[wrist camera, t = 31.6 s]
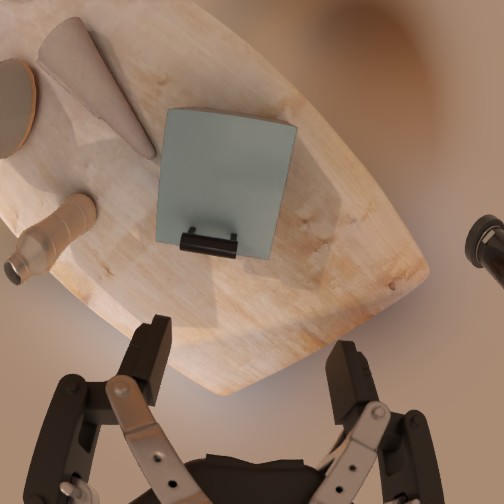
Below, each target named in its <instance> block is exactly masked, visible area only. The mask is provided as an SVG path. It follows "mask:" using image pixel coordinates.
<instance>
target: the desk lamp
mask: <svg viewBox="0 0 504 504" xmlns="http://www.w3.org/2000/svg"><path fill="white" fill-rule="evenodd" d="M36 93H37V92H36V87H35V81H34V75H33V73H32V71H31V70H30V68H29V67H28V65H27V64H26V63H25V62H23V61H20V60H17V59H8V60H5V61H2V62H0V159H4V158H7V157H8V156H11V155H12V154H13V153H14V152H16V151H17V150H19V149H20V148H21V146H22V144H23V143H24V141H25V139H26V138H27V136H28V134H29V132H30V129H31V125H32V122H33V118H34V115H35V105H36Z"/></svg>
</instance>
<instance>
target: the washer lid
mask: <svg viewBox="0 0 504 504" xmlns="http://www.w3.org/2000/svg"><path fill="white" fill-rule="evenodd" d="M296 132H297V127H295V126H290V125H285V124H280V123H275V122H270V121H265V120H259V119H254V118H248V117H241V116H235V115H228V114H220V113H212V112H203V111H193V110H182V109H168V113H167V120H166V127H165V134H164V142H163V150H162V159H161V169H160V180H159V192H158V206H157V223H156V242H161V243H167V244H173V245H179V246H180V250H182V251H188V252H194V253H200V254H206V255H212V256H218V257H224V258H230V259H236V255H240V256H246V257H252V258H258V259H264V260H269V256H270V252H271V247H272V243H273V238H274V234H275V230H276V225H277V221H278V216H279V212H280V207H281V203H282V198H283V193H284V189H285V184H286V180H287V175H288V170H289V166H290V161H291V156H292V151H293V147H294V142H295V137H296Z"/></svg>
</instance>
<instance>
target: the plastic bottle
mask: <svg viewBox="0 0 504 504" xmlns="http://www.w3.org/2000/svg"><path fill="white" fill-rule="evenodd" d="M95 220H96V208H95V205H94V203H93V201H92V200H91V199H90V198H89V197H88V196H86V195H84V194H81V193H78V194H74V195H71V196H69V197H68V198H67V199H66V200H65V201H64V202H63V203H62V204H61V206H60V207H59V208H58V209H57V210H56V211H54V212H53V213H52V214H51V215H50V216H48V217H47V218H45V219H44V220H42V221H41V222H39V223H37V224H35V225H33V226H31V227H29V228H27V229H26V230H24V231H23V232H22V233H21V235H20V237H19V238H18V241H17V245H16V250H15V252H13V253H12V254H11V255H10V256H9V257H8V258H7V259H6V260H5V262H4V263H3V268H4V271H5V274H6V276H7V277H8V279H9V280H10V281H11V282H12V283H13V284H14V285H16V286H20V285H22V284H23V283H24V282H25V281H26V280H28V279H29V277H30V275H42V274H45V273H47V272H48V271H50V269H51V268H52V267H53V265H54V264H55V262H56V260H57V259H58V257H59V256H60V254H61V253H62V252H63V251H64V250H65V248H66V247H67V246H68V245H69V244H70V243H71V242H72V241H73V240H75V239H76V238H77V237H79V236H81V235H83V234H84V233H86V232H87V231H89V230H90V229H91V227H92V226H93V224H94V222H95Z"/></svg>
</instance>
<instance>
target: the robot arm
mask: <svg viewBox="0 0 504 504" xmlns="http://www.w3.org/2000/svg"><path fill="white" fill-rule="evenodd" d="M475 258H476V260H477V261H478V262H479V263H480V264H481V265H482V266H483V267H484V268H485V269H486V270H487V271H488V272H489V273H490V274H491V275H492V276H493V278H494V279H495V280H496V281H497V282H498V283H499V284H500V285H501V286H502V288H503V289H504V229H502V228H501V227H499V226H498V225H491V226H489V227H488V228H487V229H486V230H485V231H484V232H483V233H482V234H481V236H480V237H479V239H478V242H477V244H476V248H475ZM171 343H172V323H171V317H167V316H162V315H157V314H156V315H155V316H154V318H153V321H152V323H151V324H146V323H143V324H141V325H140V326H139V327H138V328H137V329H136V330H135V332H134V335H133V337H132V340H131V342H130V344H129V347H128V349H127V351H126V354H125V356H124V358H123V361H122V363H121V366H120V368H119V371H118V373H117V374H116V375H115V376H114V377H112V378H111V379H109V380H108V381H105V382H86V381H85V379H84V378H83V377H81V376H80V375H77V374H68V375H66V376H64V377H63V378H61V380H60V381H59V383H58V386H57V388H56V390H55V393H54V395H53V398H52V401H51V403H50V406H49V408H48V411H47V414H46V416H45V419H44V422H43V425H42V428H41V431H40V434H39V437H38V440H37V443H36V447H35V450H34V453H33V456H32V460H31V464H30V468H29V471H28V476H27V479H26V484H25V488H24V493H23V501H24V504H100V503H99V502H100V500H99V495H98V493H97V491H96V490H95V489H94V488H93V487H92V486H90V485H89V484H88V480H89V475H90V470H91V465H92V461H93V456H94V452H95V448H96V444H97V439H98V435H99V432H100V428H101V425H120V427H121V430H122V432H123V435H124V437H125V439H126V441H127V444H128V446H129V448H130V450H131V452H132V454H133V456H134V457H135V459H136V461H137V463H138V465H139V467H140V469H141V471H142V472H143V474H144V476H145V478H146V479H147V481H148V483H149V484H150V486H151V488H150V489H149V490H147V491H146V492H145V493H144V494H142V495H141V496H139V497H138V498H137V499H135V500H133V501H132V502H130V503H129V504H354V503H353V502H352V501H353V499H354V498H355V496H356V494H357V493H358V491H359V489H360V488H361V486H362V484H363V482H364V481H365V479H366V477H367V475H368V473H369V472H370V470H371V468H372V466H373V464H374V462H375V460H376V458H377V456H378V462H379V469H380V477H381V486H382V495H383V504H445V502H444V496H443V489H442V484H441V479H440V474H439V469H438V464H437V459H436V455H435V451H434V447H433V442H432V439H431V435H430V431H429V427H428V424H427V420H426V418H425V416H424V415H423V414H422V413H421V412H420V411H418V410H410V411H409V412H407V413H406V414H405V415H403V414H399V413H394V412H391V411H390V410H389V408H388V407H387V406H386V405H385V404H384V403H382V402H380V401H379V398H378V395H377V391H376V388H375V385H374V381H373V378H372V376H371V375H372V374H371V372H370V370H369V365H368V362H367V359H366V358H365V357H364V355H363V354H362V353H361V352H357V351H356V347H355V344H354V342H353V341H341V340H338V341H337V342H336V344H335V346H334V348H333V350H332V352H331V353H330V355H329V357H328V359H327V361H326V367H325V370H326V375H327V381H328V386H329V392H330V397H331V403H332V409H333V415H334V421H335V425H343V427H344V429H343V430H342V431H341V433H340V434H339V436H338V438H337V440H336V441H335V442H334V444H333V445H332V447H331V448H330V450H329V451H328V453H327V454H326V456H325V457H324V458H323V460H322V461H321V462H320V463H319V464H318V465H317V466H316V467H315V468H312V467H310V466H307V465H304V463H303V460H302V459H301V460H277V461H271V462H266V463H261V464H253V463H249V462H246V461H243V460H240V459H236V458H233V457H228V456H219V455H212V454H206V458H204V459H196V460H192V461H189V462H187V463H185V464H183V463H182V461H181V460H180V458H179V456H178V455H177V453H176V452H175V450H174V448H173V447H172V445H171V443H170V442H169V440H168V439H167V437H166V435H165V433H164V432H163V430H162V428H161V427H160V425H159V424H158V423H157V422H156V420H155V419H154V417H153V415H152V413H151V411H150V409H149V408H148V405H150V406H155V403H156V400H157V396H158V392H159V388H160V385H161V381H162V378H163V374H164V370H165V367H166V363H167V360H168V356H169V353H170V349H171ZM376 449H377V451H376Z"/></svg>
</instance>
